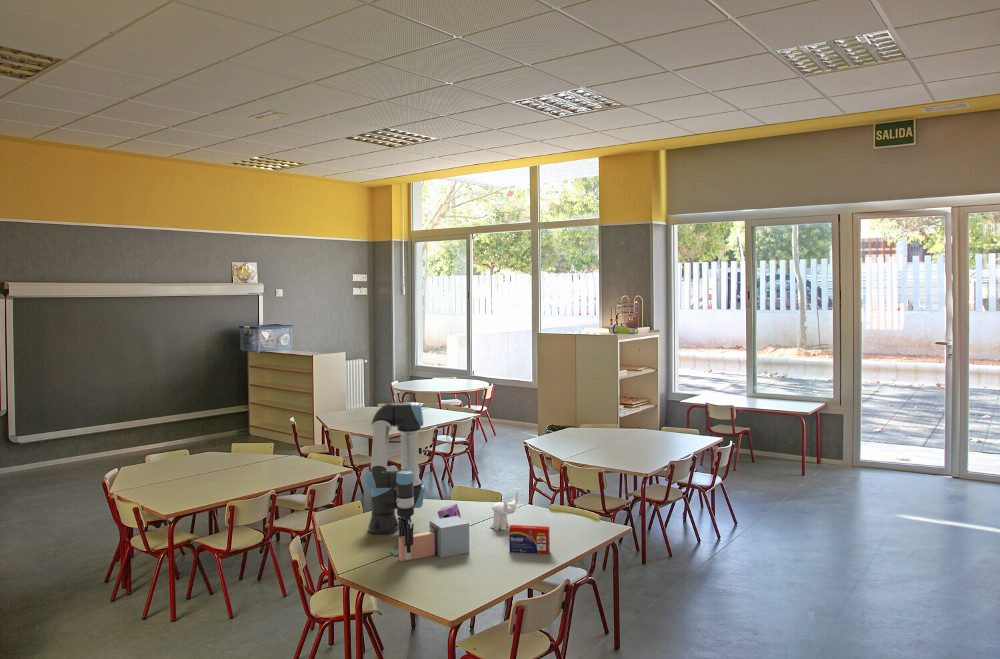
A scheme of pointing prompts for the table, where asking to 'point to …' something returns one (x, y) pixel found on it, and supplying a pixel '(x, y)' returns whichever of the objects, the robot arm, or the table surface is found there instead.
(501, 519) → the toy animal
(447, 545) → the pale blue cube
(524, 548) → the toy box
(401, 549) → the long salmon pink block
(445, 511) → the toy
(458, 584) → the table surface
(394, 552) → the mat
